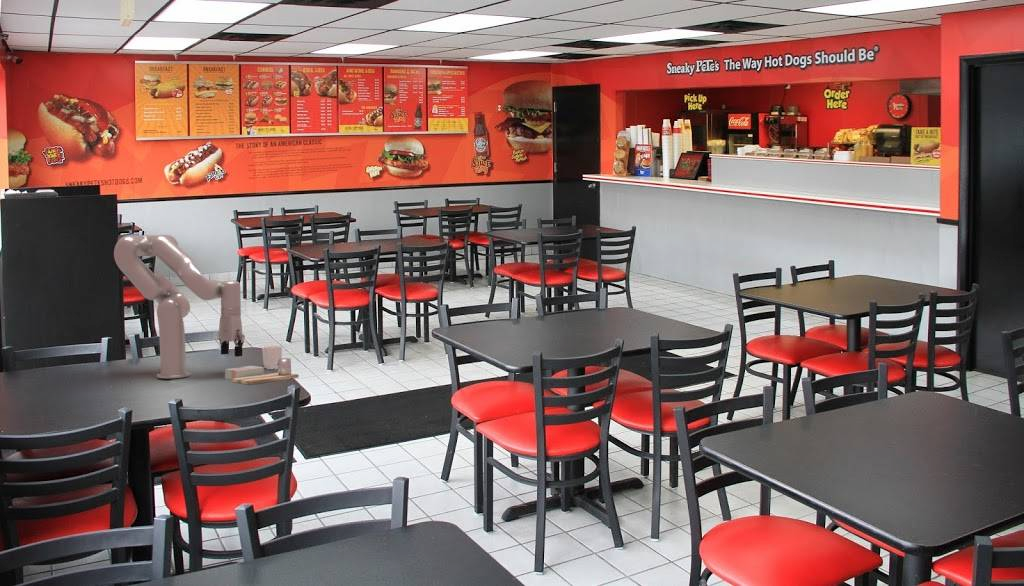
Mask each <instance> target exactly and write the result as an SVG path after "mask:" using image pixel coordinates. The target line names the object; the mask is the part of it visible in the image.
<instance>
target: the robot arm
mask: <svg viewBox="0 0 1024 586" xmlns="http://www.w3.org/2000/svg"><path fill="white" fill-rule="evenodd" d="M113 250H114V251H113V258H114V261H115V263H116V265H117V267H118V268H119V270H120V271H121V272H122V273H123V275H124V276H125V277H126V278H127V279H128V280H129V281H130V282H131V284H132V285H133V286H134V288H136V289H137V290H138V291H139V292H140V293H141V295H142V296H143V297H144V298H145V299H147V300H149V301H156V302H157V303H158V305H157V308H156V316H157V318H156V319H157V322H158V323H157V324H158V331H159V332H158V333H159V337H158V338H159V356H160V357H159V358H160V366H158V370H159V371H160V372H159V373H157V374H156V378H158V379H165V380H166V379H167V380H168V379H181V378H186V377H187V378H188V377H190V376H191V372H190V371H187V356H186V355H187V354H186V335H185V334H186V333H185V329H186V328H185V324H184V323H185V322H184V318H185V317H187V316H188V315H189V313H190V312H191V305H190V301H189V300H188V298H187V297H185V295H184V294H183V293H182V292H181V291H180V290H179V289H178V288H177V286H176V285H175V284H174V283H173V282H172V281H171V280H170V279H168V278H167V277H166V276H163V275H156V274H155V273H154V272H153V271H152V270H151V269H150V268H149V267H148V265H147V264H145V262H143V261H142V259H140V258H139V257H156V258H158V259H159V260H160V261H161V262H162V263H163V264H164V265H165V266H167V267H168V269H170V270H171V271H172V272H174V274H176V275H177V277H178V279H179V280H181V282H182V283H183V284H184V286H186V288H188V290H190V291H191V292H192V293H193V294H194V295H195V296H197V297H198V298H199V299H201V300H203V301H211V300H216V299H217V300H218V299H220V317H219V324H218V325H219V327H218V333H217V334H218V335H217V336H218V341H219V344H220V355H228V354H229V342H233V343H234V345H235V346H234V357H243V347H244V343H245V338H246V336H245V334H244V333H243V324H242V317H241V316H242V312H241V311H242V310H241V309H242V308H241V307H242V305H241V303H242V302H241V300H242V299H241V283H240V282H239V281H237V280H224V281H221V280H216V279H215V280H211V279H210V280H209V279H207V277H205V276H204V275H203V274H201V272H200V271H199V270H198V269H197V267H196V266H195V263H194V260H193V258H192V257H191V256H190V255H188V254H187V252H185V251H184V250H183V249H182V248H181V247H180V246H179V243H178V241H177V239H176V238H175V237H174V236H172V235H171V234H158V235H156V234H155V235H152V234H150V235H149V234H145V235H144V234H141V235H140V234H135V235H134V234H129V235H125V236H122V237H121V238H119V239H118V240H117V242H116V244H115V246H114V249H113Z"/></svg>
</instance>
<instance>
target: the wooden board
mask: <svg viewBox="0 0 1024 586" xmlns="http://www.w3.org/2000/svg"><path fill="white" fill-rule="evenodd" d="M291 378H292V380H293V379H298V378H299V374H297V373H291V375H287V376H280V375H278V371H277V372H271V373H264V374H262V375H255V376H248V377H241V378H234V379H232V380H231V382H232V383H236V384H237V383H238V384H243V385H250V386H251V385H252V386H253V385H256V384H257V385H258V384H265V383H270V382H279V381H285V380H291Z"/></svg>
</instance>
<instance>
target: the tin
mask: <svg viewBox="0 0 1024 586" xmlns="http://www.w3.org/2000/svg"><path fill="white" fill-rule="evenodd" d="M291 359H292V358H289V357H287V358H286V357H284V358H283V357H282V359H278V369H277V372H278V375H280V376H287V375H291V374H292V360H291Z"/></svg>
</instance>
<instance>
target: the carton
mask: <svg viewBox="0 0 1024 586" xmlns="http://www.w3.org/2000/svg"><path fill="white" fill-rule="evenodd" d="M262 374H265V369H264V366H257V365H245V366H239V367H232V368H224V379H225V380H229V381H232V379H234V378H241V377H248V376H255V375H262Z"/></svg>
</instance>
